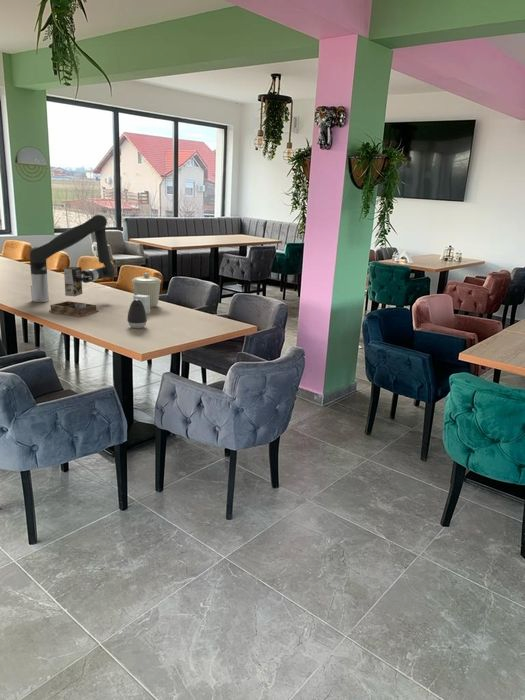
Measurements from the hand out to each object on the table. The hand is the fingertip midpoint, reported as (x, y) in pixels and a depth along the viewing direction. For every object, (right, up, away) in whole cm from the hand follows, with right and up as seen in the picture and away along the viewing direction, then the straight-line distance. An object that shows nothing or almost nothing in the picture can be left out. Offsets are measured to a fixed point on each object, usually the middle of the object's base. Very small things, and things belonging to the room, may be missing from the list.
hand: (70, 279), depth 313 cm
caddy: (+2, -19, -1) cm, 19 cm away
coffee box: (0, -9, +5) cm, 10 cm away
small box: (+41, -20, +4) cm, 45 cm away
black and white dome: (+46, -29, -28) cm, 61 cm away
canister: (+40, -14, +22) cm, 48 cm away
